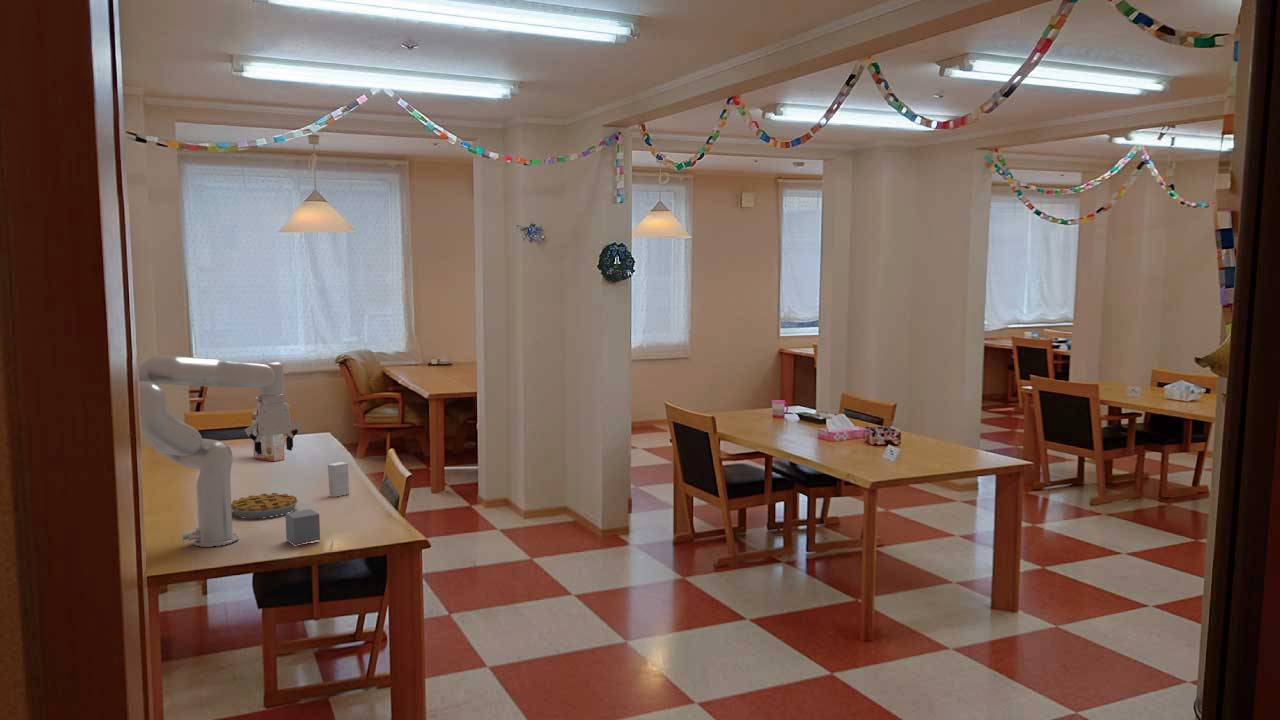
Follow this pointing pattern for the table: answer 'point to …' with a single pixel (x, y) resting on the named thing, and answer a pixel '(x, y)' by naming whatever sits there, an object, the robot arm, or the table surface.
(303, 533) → the rounded grey cube
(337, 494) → the skincare box
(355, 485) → the table surface
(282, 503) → the pie
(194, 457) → the robot arm
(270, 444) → the cracker box
